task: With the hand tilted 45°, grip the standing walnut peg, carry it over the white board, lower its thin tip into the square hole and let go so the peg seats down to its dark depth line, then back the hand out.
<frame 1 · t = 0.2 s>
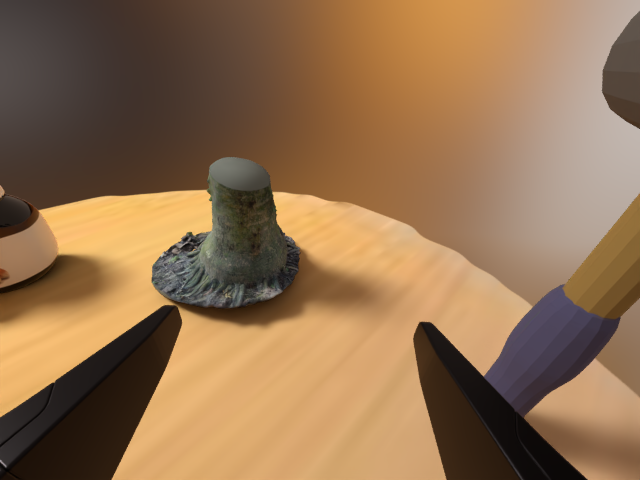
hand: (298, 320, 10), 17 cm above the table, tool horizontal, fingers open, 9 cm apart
tree stump: (233, 268, 37), on the table
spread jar: (1, 287, 32), on the table
rubber mallet: (480, 419, 23), on the table
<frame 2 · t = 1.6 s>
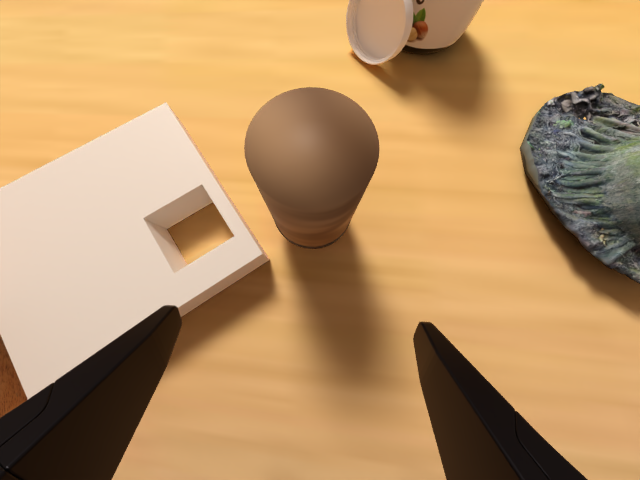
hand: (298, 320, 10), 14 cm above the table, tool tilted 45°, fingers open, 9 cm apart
tree stump: (608, 184, 27), on the table
walnut peg: (312, 219, 25), on the table
white board: (135, 242, 24), on the table
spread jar: (401, 40, 30), on the table
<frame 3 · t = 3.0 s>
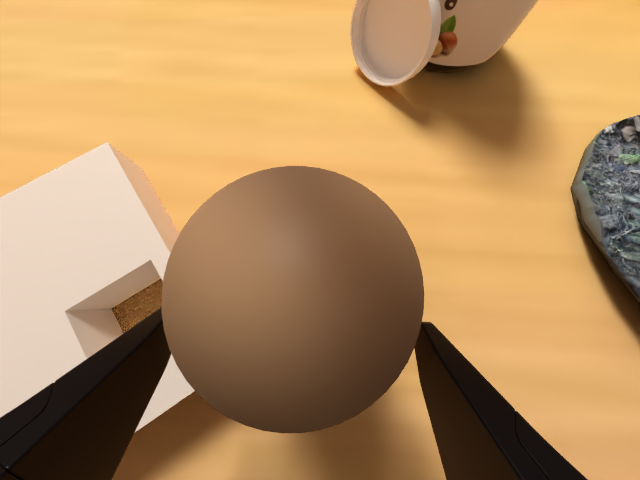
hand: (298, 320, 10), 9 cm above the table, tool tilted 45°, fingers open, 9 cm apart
walnut peg: (306, 294, 19), on the table
white board: (68, 328, 18), on the table
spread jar: (419, 53, 24), on the table
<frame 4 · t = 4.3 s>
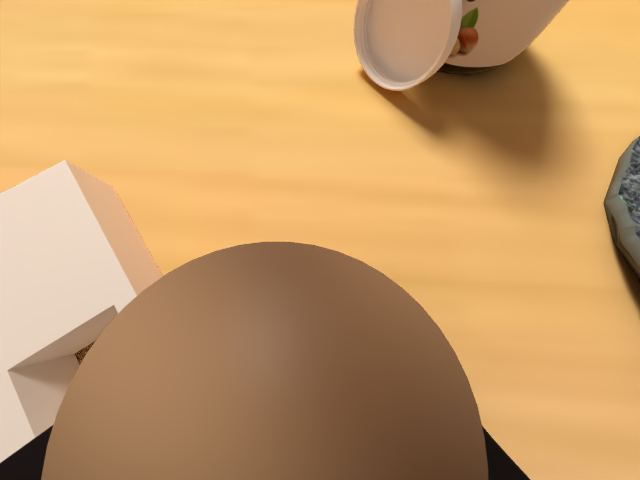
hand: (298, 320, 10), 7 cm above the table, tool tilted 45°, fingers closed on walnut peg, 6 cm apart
walnut peg: (302, 334, 16), on the table, touching gripper
white board: (23, 378, 15), on the table
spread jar: (431, 52, 21), on the table
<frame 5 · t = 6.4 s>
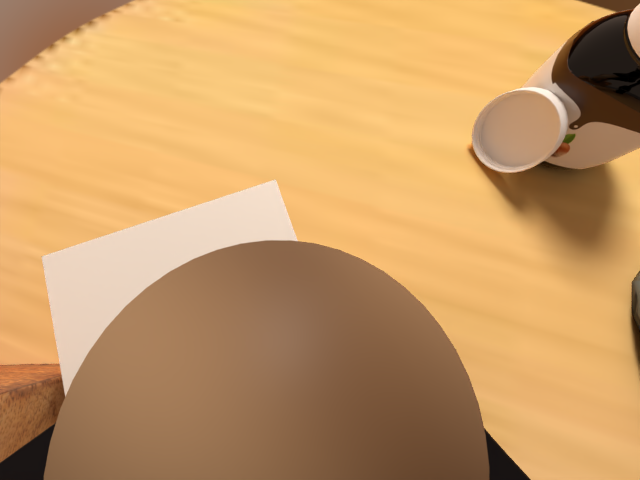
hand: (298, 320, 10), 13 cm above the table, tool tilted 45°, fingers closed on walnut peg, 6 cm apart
walnut peg: (302, 334, 16), point 7 cm above the table, touching gripper
white board: (208, 312, 23), on the table
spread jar: (525, 143, 27), on the table
when the fingers open (8 cm above the table, at t = 8.7 s): walnut peg stays where it is, resting on white board.
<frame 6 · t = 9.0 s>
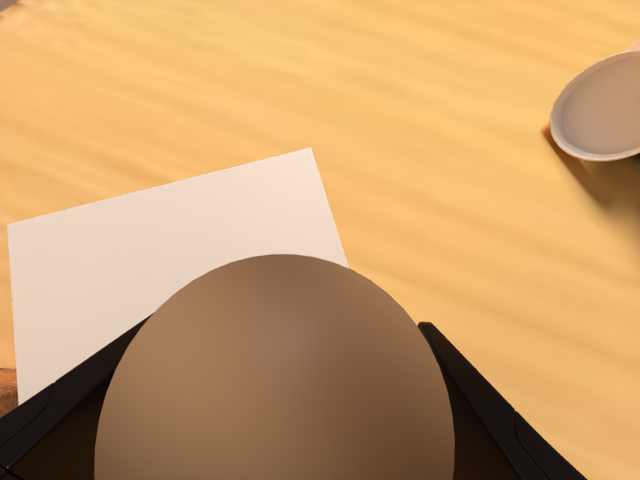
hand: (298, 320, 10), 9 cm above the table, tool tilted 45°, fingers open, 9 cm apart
walnut peg: (303, 333, 17), point 1 cm above the table, touching white board
white board: (214, 310, 18), on the table
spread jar: (612, 129, 22), on the table
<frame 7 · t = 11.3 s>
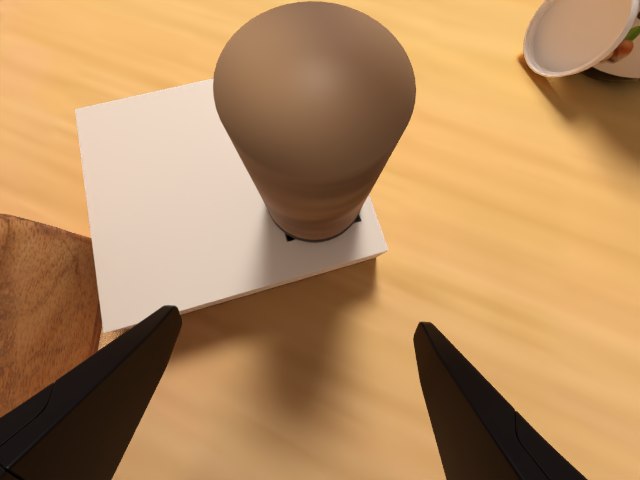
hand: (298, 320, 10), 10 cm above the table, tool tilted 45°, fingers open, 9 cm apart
walnut peg: (314, 208, 21), point 1 cm above the table, touching white board
white board: (239, 195, 22), on the table
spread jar: (578, 58, 26), on the table
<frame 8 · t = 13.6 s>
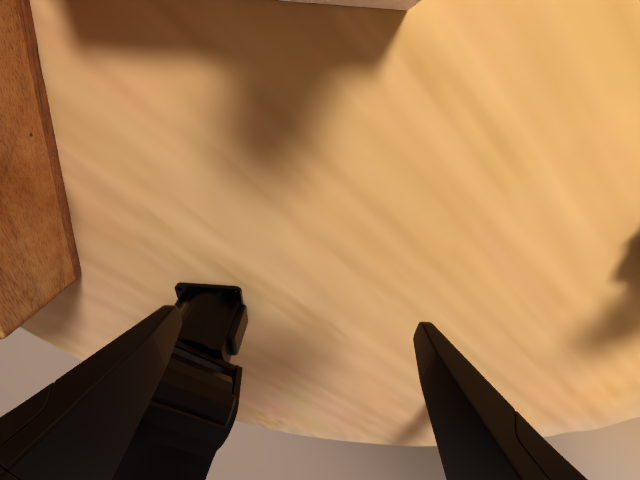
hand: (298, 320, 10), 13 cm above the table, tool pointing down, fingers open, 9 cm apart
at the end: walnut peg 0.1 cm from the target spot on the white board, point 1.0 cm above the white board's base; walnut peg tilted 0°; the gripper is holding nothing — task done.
